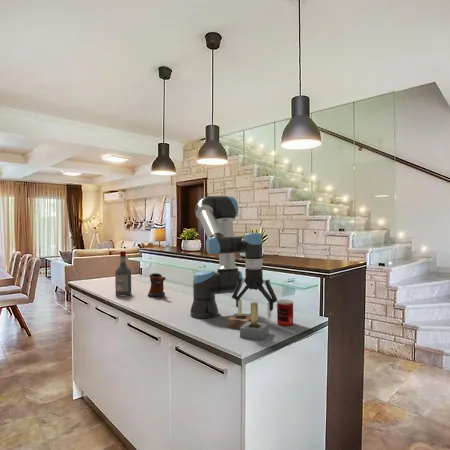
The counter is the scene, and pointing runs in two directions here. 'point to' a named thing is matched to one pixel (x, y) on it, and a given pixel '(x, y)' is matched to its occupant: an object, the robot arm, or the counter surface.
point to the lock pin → (254, 315)
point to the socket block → (254, 331)
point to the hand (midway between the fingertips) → (254, 316)
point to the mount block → (238, 320)
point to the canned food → (285, 312)
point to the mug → (156, 286)
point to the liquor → (123, 277)
